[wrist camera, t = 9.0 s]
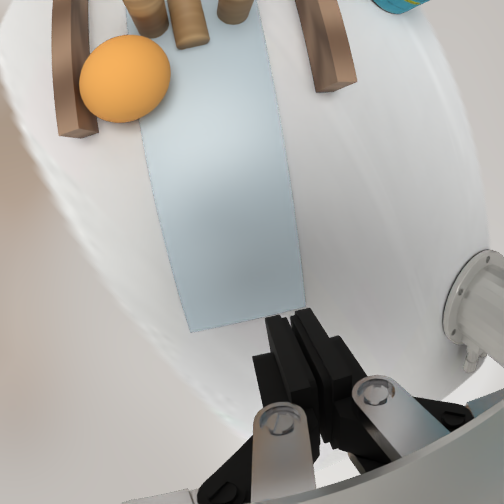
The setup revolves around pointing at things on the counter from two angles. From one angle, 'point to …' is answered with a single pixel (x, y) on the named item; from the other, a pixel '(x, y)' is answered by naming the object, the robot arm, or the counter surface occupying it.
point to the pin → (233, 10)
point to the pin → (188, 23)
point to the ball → (124, 78)
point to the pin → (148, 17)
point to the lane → (223, 177)
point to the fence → (77, 51)
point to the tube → (398, 5)
